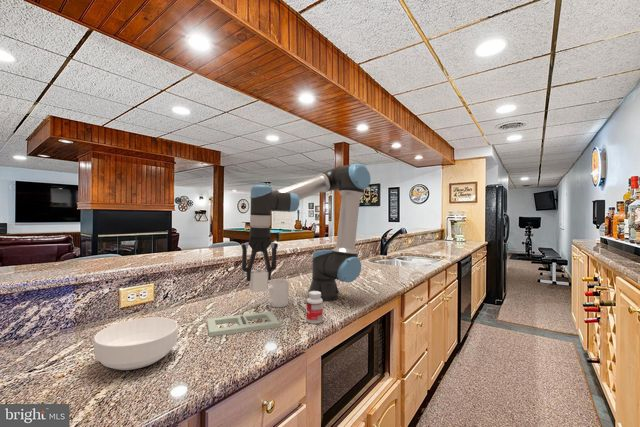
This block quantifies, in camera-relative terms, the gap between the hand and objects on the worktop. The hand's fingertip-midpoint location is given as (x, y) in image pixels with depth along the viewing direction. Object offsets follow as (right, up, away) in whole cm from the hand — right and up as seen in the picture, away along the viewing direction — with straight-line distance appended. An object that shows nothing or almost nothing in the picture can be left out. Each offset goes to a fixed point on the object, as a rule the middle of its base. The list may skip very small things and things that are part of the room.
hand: (258, 289), depth 111 cm
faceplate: (-5, -13, -2) cm, 14 cm away
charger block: (0, 0, 0) cm, 0 cm away
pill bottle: (+21, -13, +3) cm, 25 cm away
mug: (+3, -13, +21) cm, 25 cm away
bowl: (-27, -13, -29) cm, 42 cm away
